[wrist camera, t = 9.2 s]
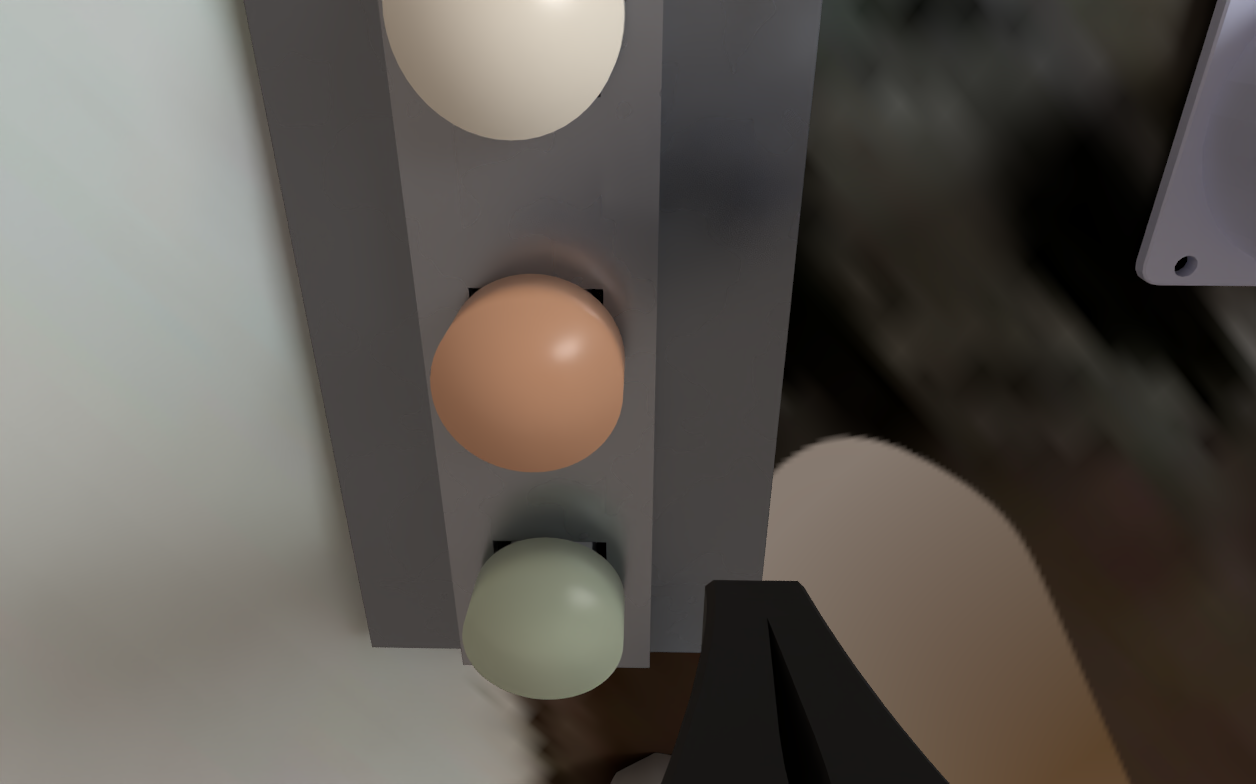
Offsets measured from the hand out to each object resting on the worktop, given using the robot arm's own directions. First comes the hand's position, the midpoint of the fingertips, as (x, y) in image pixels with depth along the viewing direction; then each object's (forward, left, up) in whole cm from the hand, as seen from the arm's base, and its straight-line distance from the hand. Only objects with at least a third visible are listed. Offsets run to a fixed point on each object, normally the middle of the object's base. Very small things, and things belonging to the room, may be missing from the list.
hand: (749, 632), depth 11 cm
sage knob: (+4, +6, -10) cm, 12 cm away
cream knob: (+4, -8, -10) cm, 13 cm away
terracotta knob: (+4, -1, -10) cm, 11 cm away
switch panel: (+4, -1, -10) cm, 11 cm away
